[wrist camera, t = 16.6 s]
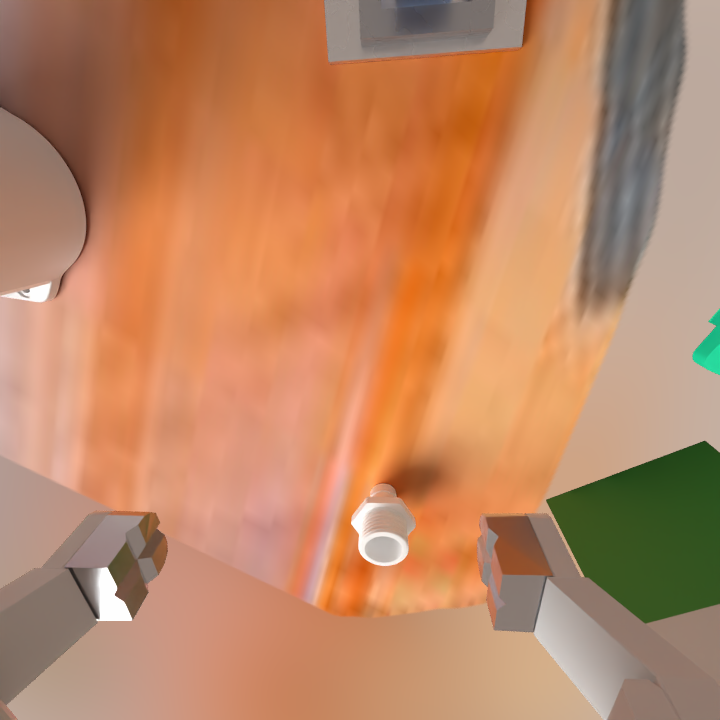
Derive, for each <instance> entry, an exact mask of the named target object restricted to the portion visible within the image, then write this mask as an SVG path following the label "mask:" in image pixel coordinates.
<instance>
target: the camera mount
mask: <svg viewBox="0 0 720 720" xmlns="http://www.w3.org/2000/svg"><path fill="white" fill-rule="evenodd" d="M708 322H710V323H712V324H714V325H716V327H715V328H714V329H713V331H712V332H711V333H710V334H709V335H708V336H707V337H706V339H705V340H704V341H703V342H702V343H701V344H700V345H699V346H698V348H697V349H696V350H695V351H694V353H693V360H694V362H696V363H697V364H699V365H701V366H702V367H704V368H706V369H707V370H710V371H712V372H714V373H716V374H718V375H720V309H719V310H718V311H717V312H716V313H715V314H714V315H713V316H712V318H711V319H710V320H709V321H708Z"/></svg>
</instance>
